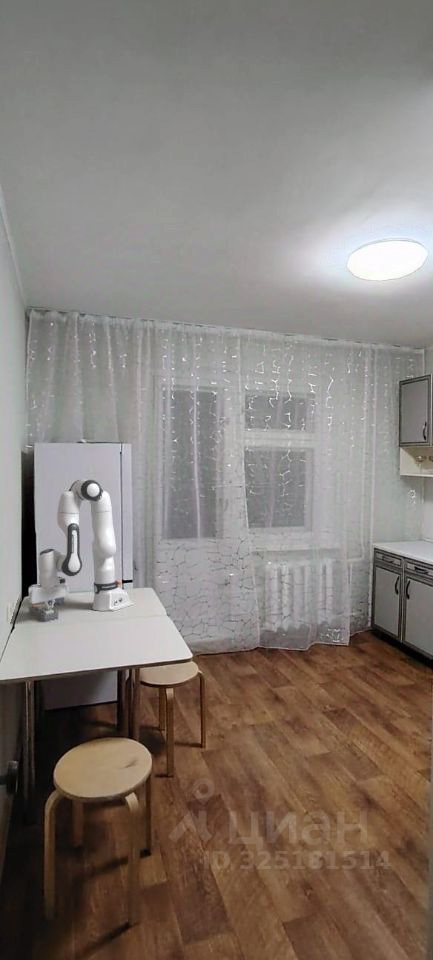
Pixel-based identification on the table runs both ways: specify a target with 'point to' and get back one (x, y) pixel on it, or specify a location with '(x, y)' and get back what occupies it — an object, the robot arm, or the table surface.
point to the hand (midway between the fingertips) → (49, 608)
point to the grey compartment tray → (43, 616)
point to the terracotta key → (36, 606)
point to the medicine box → (57, 600)
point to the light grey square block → (42, 608)
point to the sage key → (48, 611)
